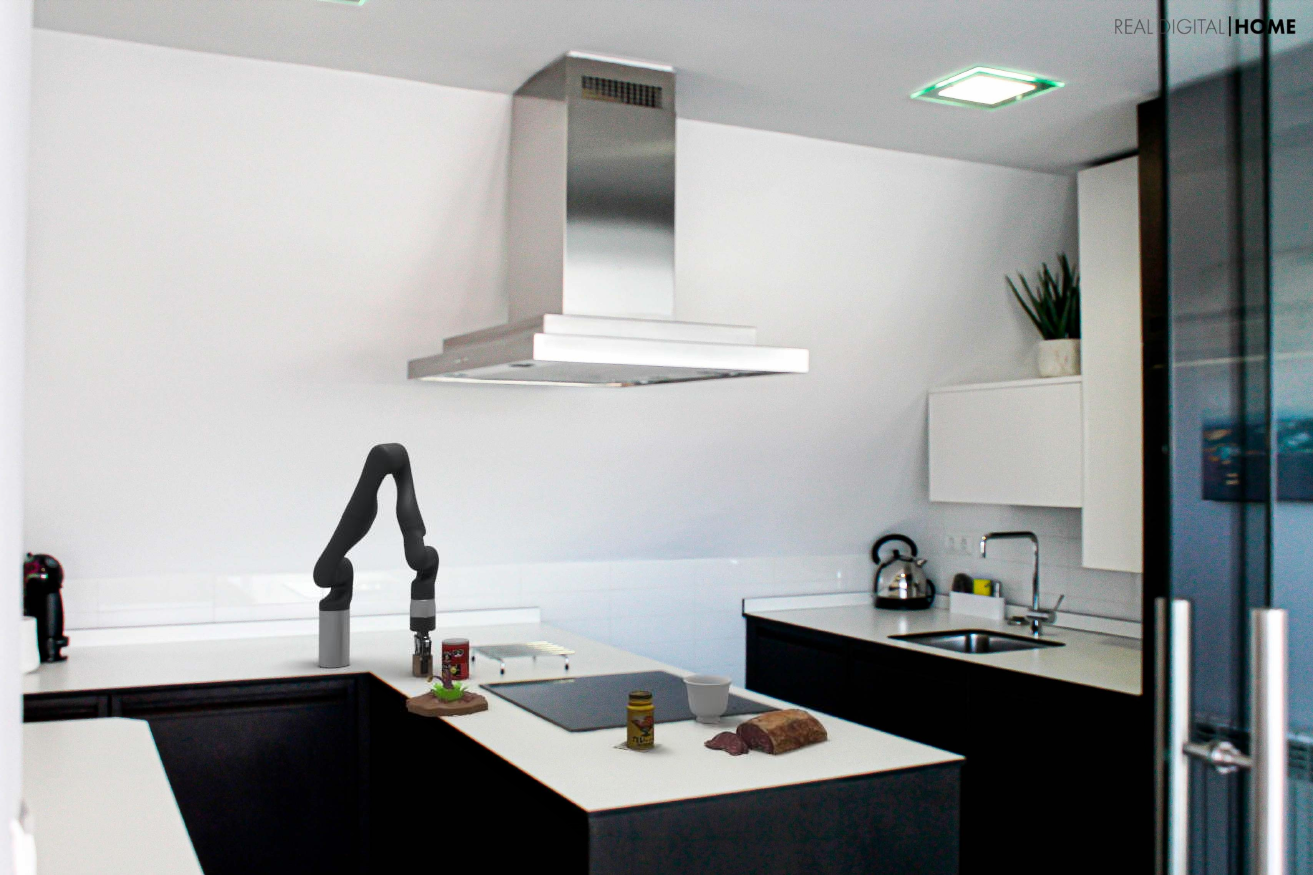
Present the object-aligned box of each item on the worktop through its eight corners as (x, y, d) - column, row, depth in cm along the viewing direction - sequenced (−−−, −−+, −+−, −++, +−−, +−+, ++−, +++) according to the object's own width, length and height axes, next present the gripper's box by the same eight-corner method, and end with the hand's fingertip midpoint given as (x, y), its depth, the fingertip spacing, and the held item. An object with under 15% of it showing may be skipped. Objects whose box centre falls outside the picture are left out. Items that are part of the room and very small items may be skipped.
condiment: (646, 752, 238) (646, 697, 239) (612, 747, 242) (612, 693, 243) (662, 744, 245) (662, 690, 245) (629, 740, 249) (629, 687, 249)
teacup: (715, 710, 278) (715, 670, 278) (741, 723, 264) (741, 681, 265) (671, 714, 274) (671, 674, 274) (695, 727, 260) (695, 685, 260)
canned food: (436, 679, 318) (436, 641, 318) (453, 674, 325) (453, 637, 325) (457, 681, 314) (457, 643, 314) (474, 676, 321) (474, 639, 321)
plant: (425, 721, 268) (425, 675, 268) (397, 706, 284) (398, 662, 285) (500, 711, 279) (500, 667, 279) (469, 697, 295) (470, 655, 295)
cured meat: (695, 747, 243) (695, 717, 243) (763, 727, 261) (764, 699, 261) (760, 765, 231) (761, 732, 231) (827, 742, 249) (828, 712, 249)
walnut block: (412, 674, 325) (412, 653, 325) (429, 672, 327) (429, 652, 327) (415, 677, 320) (415, 656, 320) (432, 675, 322) (432, 655, 322)
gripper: (405, 611, 329) (405, 668, 329) (414, 618, 316) (414, 677, 316) (430, 610, 332) (430, 666, 332) (440, 616, 319) (440, 675, 319)
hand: (422, 671), depth 324 cm, fingers closed on walnut block, 5 cm apart
